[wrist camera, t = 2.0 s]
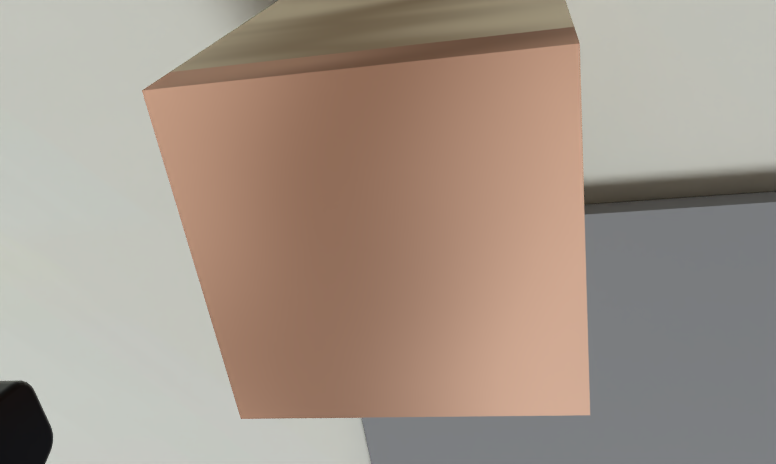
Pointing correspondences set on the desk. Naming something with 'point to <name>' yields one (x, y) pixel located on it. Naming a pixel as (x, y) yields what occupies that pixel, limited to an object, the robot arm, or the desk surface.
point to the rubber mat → (646, 349)
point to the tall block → (388, 206)
